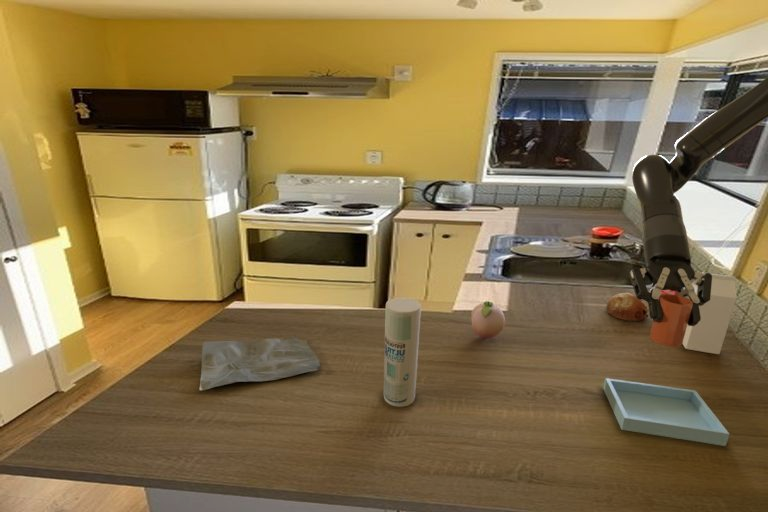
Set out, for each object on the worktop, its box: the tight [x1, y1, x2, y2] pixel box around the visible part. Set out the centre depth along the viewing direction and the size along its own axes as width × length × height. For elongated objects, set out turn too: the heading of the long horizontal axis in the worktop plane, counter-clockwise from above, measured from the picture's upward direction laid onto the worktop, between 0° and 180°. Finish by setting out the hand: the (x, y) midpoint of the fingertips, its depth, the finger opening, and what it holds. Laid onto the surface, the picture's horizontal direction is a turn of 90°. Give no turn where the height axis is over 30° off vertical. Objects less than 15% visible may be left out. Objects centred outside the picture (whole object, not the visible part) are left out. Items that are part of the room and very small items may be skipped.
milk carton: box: [682, 272, 738, 355], centre depth 103 cm, size 7×7×19 cm
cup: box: [649, 294, 693, 348], centre depth 80 cm, size 5×5×8 cm
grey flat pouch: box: [198, 335, 321, 391], centre depth 94 cm, size 24×16×2 cm, turn 109°
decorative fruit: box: [470, 300, 506, 339], centre depth 106 cm, size 9×8×10 cm
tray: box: [602, 377, 730, 447], centre depth 80 cm, size 17×13×3 cm
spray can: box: [383, 297, 422, 408], centre depth 81 cm, size 6×6×20 cm
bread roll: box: [606, 292, 649, 322], centre depth 122 cm, size 10×10×8 cm
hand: (675, 322), depth 78 cm, fingers closed on cup, 5 cm apart
